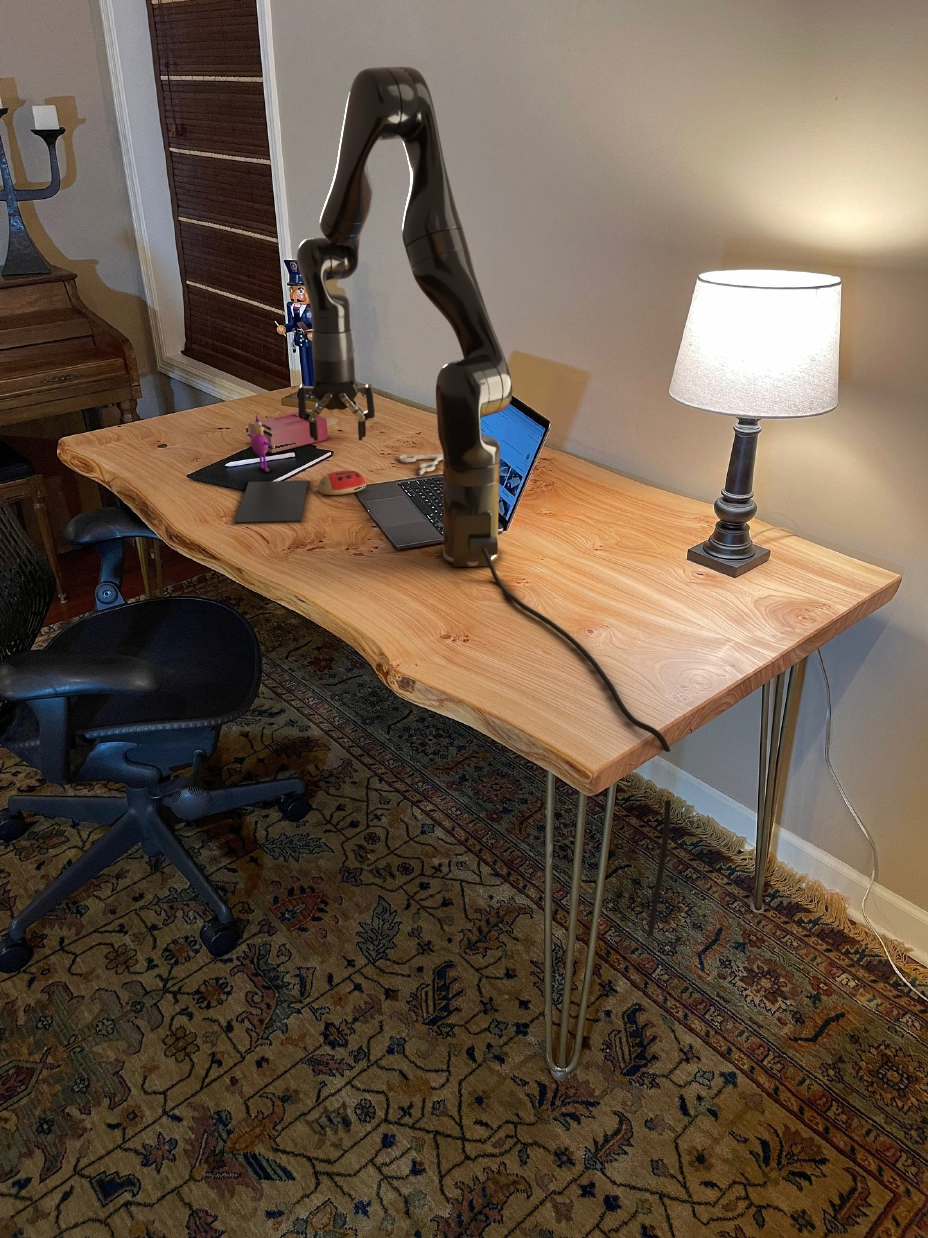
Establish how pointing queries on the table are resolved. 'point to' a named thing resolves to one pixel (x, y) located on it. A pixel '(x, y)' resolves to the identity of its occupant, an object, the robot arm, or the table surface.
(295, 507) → the desk pad
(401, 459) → the scissors
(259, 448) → the wizard figurine
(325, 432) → the popsicle
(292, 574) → the table surface
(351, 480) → the ladybug figurine
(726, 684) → the table surface
